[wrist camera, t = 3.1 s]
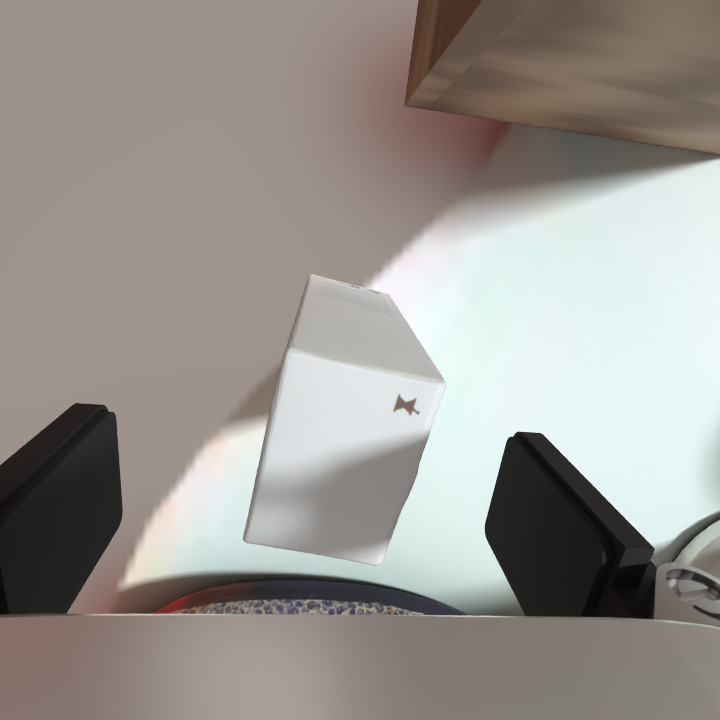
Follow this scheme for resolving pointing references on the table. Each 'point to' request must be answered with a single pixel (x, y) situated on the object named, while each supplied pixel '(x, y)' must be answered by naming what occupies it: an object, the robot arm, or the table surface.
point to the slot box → (575, 66)
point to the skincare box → (343, 426)
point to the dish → (304, 600)
